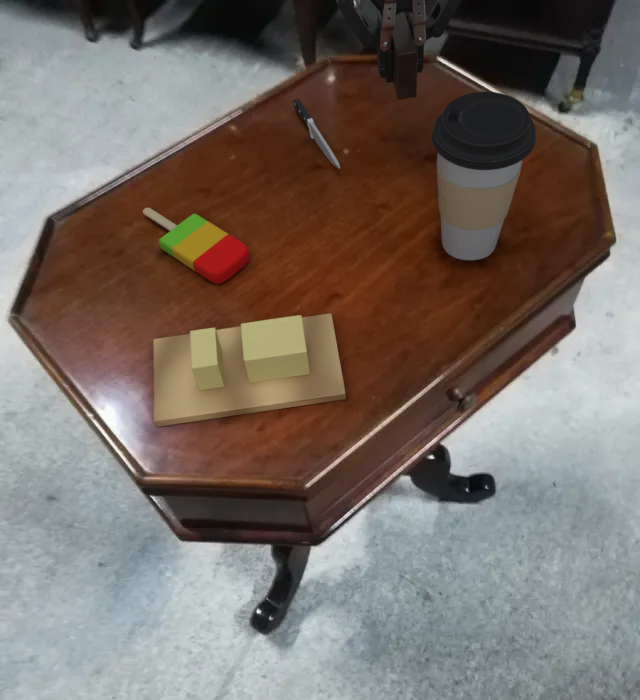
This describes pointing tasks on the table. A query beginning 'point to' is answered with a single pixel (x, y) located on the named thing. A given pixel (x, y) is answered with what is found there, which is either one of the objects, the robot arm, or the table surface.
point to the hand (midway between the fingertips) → (400, 76)
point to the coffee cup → (479, 168)
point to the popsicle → (202, 246)
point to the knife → (315, 132)
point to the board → (243, 378)
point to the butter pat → (206, 358)
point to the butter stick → (274, 349)
